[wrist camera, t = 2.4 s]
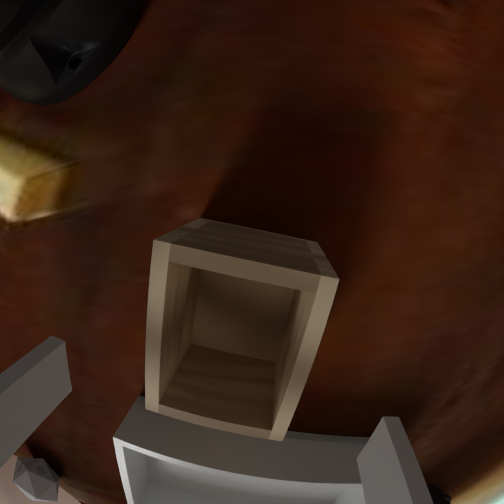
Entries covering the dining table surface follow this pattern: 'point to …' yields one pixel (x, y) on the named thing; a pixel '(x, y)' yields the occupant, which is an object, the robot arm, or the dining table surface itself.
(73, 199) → the dining table surface
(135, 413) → the large grey crate
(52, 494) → the die
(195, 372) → the small oak crate
